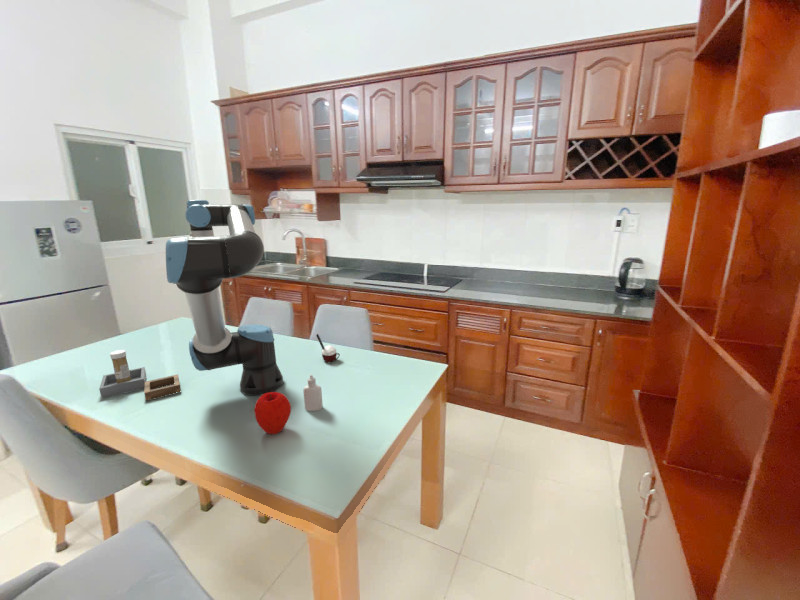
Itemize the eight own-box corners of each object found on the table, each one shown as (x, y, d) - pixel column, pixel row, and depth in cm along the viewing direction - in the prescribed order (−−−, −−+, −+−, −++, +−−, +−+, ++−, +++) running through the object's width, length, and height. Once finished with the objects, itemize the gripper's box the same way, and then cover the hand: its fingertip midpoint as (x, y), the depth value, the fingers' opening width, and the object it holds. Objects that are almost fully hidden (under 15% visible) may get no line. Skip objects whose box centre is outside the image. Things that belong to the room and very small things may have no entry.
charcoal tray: (145, 387, 133) (143, 378, 132) (101, 398, 126) (99, 388, 125) (146, 375, 144) (144, 366, 143) (105, 384, 137) (103, 375, 136)
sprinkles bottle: (114, 386, 133) (107, 353, 130) (128, 381, 137) (120, 348, 134) (121, 388, 131) (114, 354, 128) (135, 383, 136) (128, 350, 132)
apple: (296, 420, 110) (292, 384, 108) (287, 440, 101) (283, 401, 98) (263, 421, 110) (259, 386, 107) (252, 441, 101) (246, 402, 98)
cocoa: (341, 360, 156) (341, 334, 153) (332, 365, 151) (332, 338, 148) (324, 356, 160) (323, 330, 157) (315, 360, 155) (314, 334, 152)
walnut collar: (181, 392, 130) (179, 384, 129) (145, 400, 124) (144, 393, 123) (179, 381, 138) (178, 374, 138) (146, 389, 132) (144, 381, 132)
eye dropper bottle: (312, 403, 120) (309, 370, 117) (324, 407, 117) (322, 374, 115) (303, 409, 117) (299, 375, 114) (315, 413, 114) (312, 379, 111)
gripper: (189, 240, 143) (197, 291, 149) (195, 244, 123) (204, 303, 128) (210, 239, 148) (217, 289, 153) (219, 243, 127) (227, 300, 133)
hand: (211, 295), depth 141 cm, fingers open, 13 cm apart
